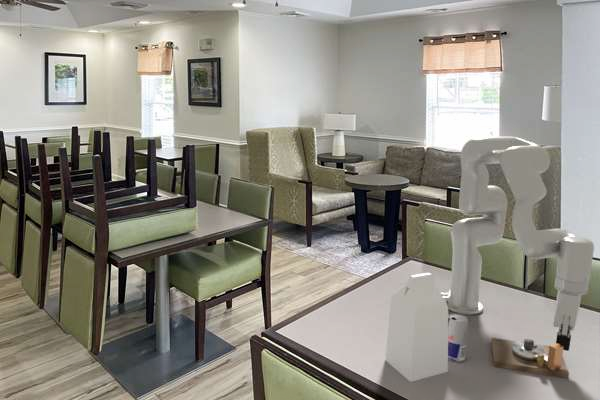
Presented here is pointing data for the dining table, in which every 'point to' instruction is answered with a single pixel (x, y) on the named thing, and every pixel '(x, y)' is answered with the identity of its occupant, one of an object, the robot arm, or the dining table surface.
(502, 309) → the dining table surface
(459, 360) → the energy drink
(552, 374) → the walnut board
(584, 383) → the dining table surface
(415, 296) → the milk
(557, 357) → the crank handle
